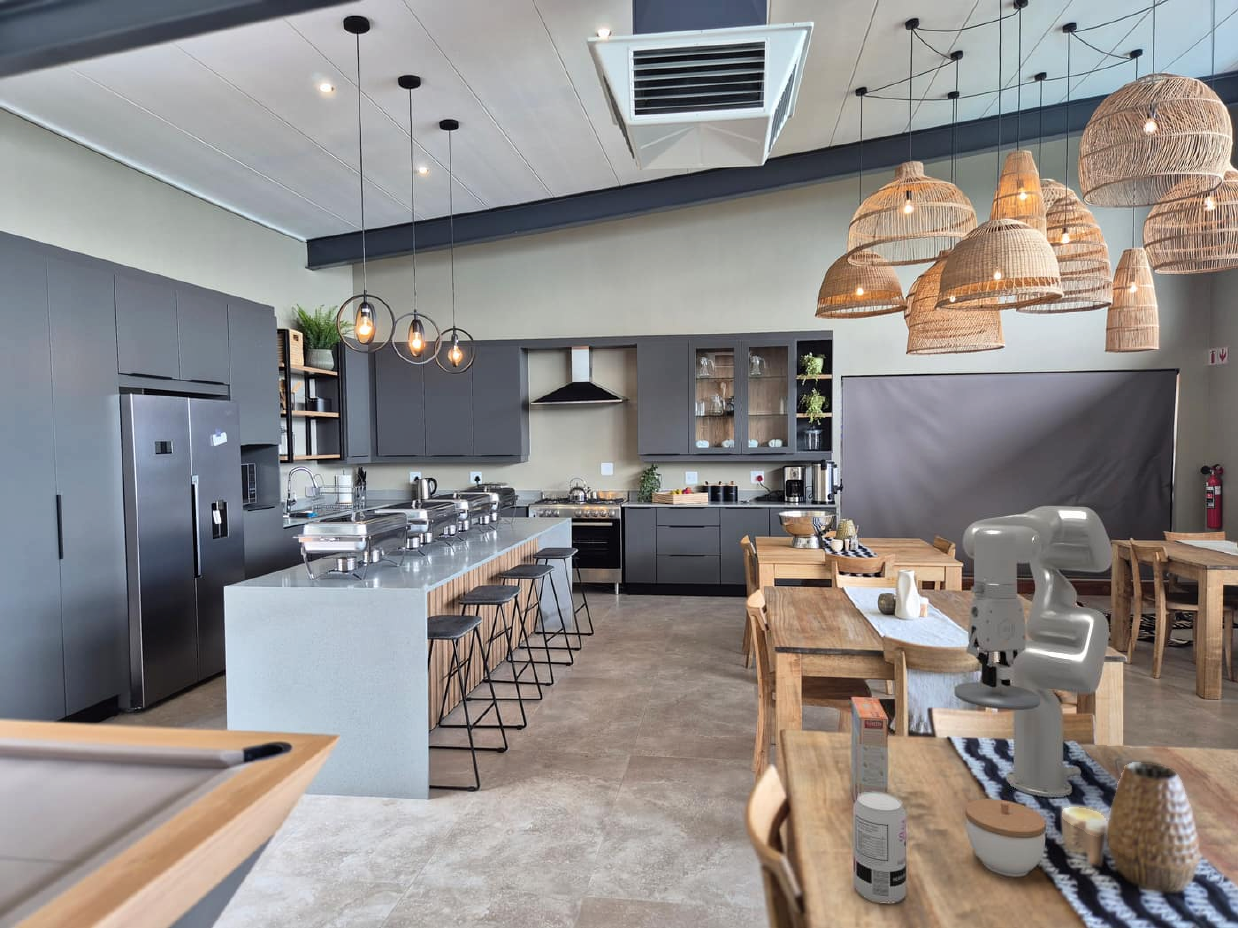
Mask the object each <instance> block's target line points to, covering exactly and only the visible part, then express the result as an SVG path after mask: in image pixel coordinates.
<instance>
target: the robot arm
mask: <svg viewBox="0 0 1238 928" xmlns="http://www.w3.org/2000/svg"><path fill="white" fill-rule="evenodd" d="M962 547H963V550H964V552H965V554H966V555H967V556H968V557H969V558H971V559H973V573H974V574H973V575H974V576H973V577H974V578H973V580H974V582H973V586H971V587H970V592H971V593H973V594H974V595H973V596H974V597H972V598H971V602H970V608H969V613H968V614H969V615H968V625H967V626H968V631H967V636H968V645H967V647H966V650H965V651H966V653H967V654H969V655H971V656H973V657H975V658H976V659H977V660H978V664H979V663H980V664H982V672H981V682H982V683H983V684H985V685H988V686H990V687H996V686H997V680H996V667H994V666H993V665H994V662H996V663H999V664H1002V665H1005V666H1008V667H1011V668H1014V679H1006V680H1002V679H1001V684H1002V685H1005V686H1010V685H1011V686H1016V687H1020V688H1023V689H1026V690H1029V691H1032V692H1034V693H1036V694H1037V695H1039V697H1040V705H1039V706H1038V707H1036V708H1033V709H1026V710H1012V711H1013V714H1012V715H1013V716H1012V718H1013V770H1010V771H1009V772H1007V774H1006V775H1005V776H1006V777H1005V780H1007V781H1006V783H1007V782H1008V783H1009V784H1010V785H1009V784H1008V783H1007V784H1008V785H1009V786H1011V787H1012V788H1013V787H1014V788H1013V789H1015V788H1016V789H1015V790H1017V789H1018V791H1019V792H1022V791H1023V792H1022V793H1026V794H1029V795H1032V796H1036V795H1037V797H1042V796H1043V797H1042V798H1053V797H1055V798H1056V797H1057V798H1064V796H1065V797H1067V796H1066V795H1068V796H1070V795H1071V794H1072V793H1073V788H1072V787H1073V786H1072V785H1071V783H1070V782H1069V781H1068V779H1069V778H1070V777H1078V776H1081V774H1082V771H1081V768H1080V767H1078V766H1069V767H1067V766H1066V765H1065V764H1064V737H1063V736H1064V727H1063V726H1064V721H1063V720H1064V712H1063V711H1064V710H1063V707H1062V704H1061V702H1060V700H1059V698H1058V697H1057V696H1056V694H1055V693H1054V691H1053V690H1057V691H1062V692H1068V693H1074V694H1080V695H1091V694H1093V693H1095V692H1096V691H1097V690H1098V688H1099V685H1100V682H1101V678H1102V674H1103V669H1104V665H1105V659H1106V655H1107V650H1108V644H1109V637H1110V628H1109V627H1110V626H1109V621H1108V619H1107V616H1105V614H1104V613H1102V611H1100V610H1097V609H1095V608H1089V607H1084V606H1077V605H1076V603H1077V600H1078V592H1077V590H1076V589H1075V587H1074V586H1073V584H1072V583H1071V582H1070V580H1068V578H1066V576H1064V575H1063V574H1062V573H1061V572H1060V570H1063V571H1072V572H1073V571H1077V572H1089V573H1101V572H1104V571H1107V570H1108V569H1109V568H1110V567H1111V565H1112V563H1113V560H1114V551H1113V548H1112V547H1113V546H1112V543H1111V541H1110V538H1109V535H1108V534H1107V530H1106V528H1105V526H1104V524H1103V522H1102V519H1101V518H1100V517H1099V515H1098V514H1097V513H1096V512H1095V511H1094V510H1093V509H1092V508H1090V507H1086V506H1068V505H1067V506H1066V505H1065V506H1064V505H1042V506H1039V507H1035V508H1034V509H1031V510H1029V511H1026V512H1024V513H1021V514H1020V513H1019V514H1012V515H1005V516H998V517H991V518H984V519H979V520H977V521H975V522H973V523H971V524H970V525H969V526H968V527H967V528H966V530H965V531H964V534H963V537H962ZM1017 564H1029V567H1030V571H1031V574H1032V578H1033V580H1034V586H1035V587H1034V588H1035V589H1034V590H1035V591H1034V595H1033V599H1032V601H1031V604H1030V609H1029V611H1028V616H1027V618H1026V619H1027V620H1026V619H1025V612H1024V608H1023V607H1024V606H1023V603H1022V600H1021V598H1019V597H1018V581H1017V580H1018V578H1017V577H1018V576H1017V574H1018V566H1017ZM1027 637H1028V638H1029V639H1030V640H1027ZM995 653H997V660H998V661H995Z"/></svg>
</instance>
